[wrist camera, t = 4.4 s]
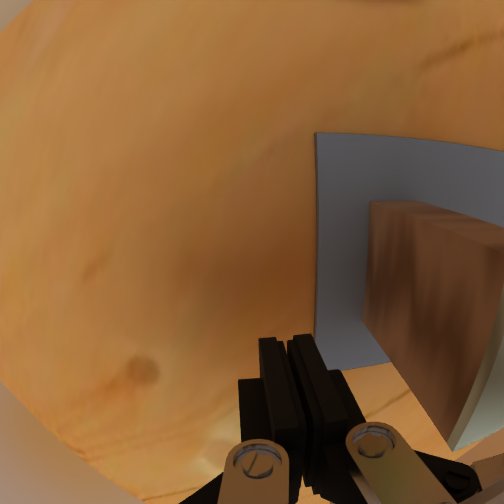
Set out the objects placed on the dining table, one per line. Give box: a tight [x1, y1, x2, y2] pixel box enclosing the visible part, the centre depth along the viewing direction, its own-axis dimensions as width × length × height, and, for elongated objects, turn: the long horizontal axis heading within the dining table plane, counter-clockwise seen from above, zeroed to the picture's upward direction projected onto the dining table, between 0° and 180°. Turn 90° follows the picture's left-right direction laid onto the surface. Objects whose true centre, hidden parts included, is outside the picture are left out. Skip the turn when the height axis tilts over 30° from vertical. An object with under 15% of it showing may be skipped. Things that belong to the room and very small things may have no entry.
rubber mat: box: [314, 133, 504, 371], centre depth 20 cm, size 16×20×1 cm
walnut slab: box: [362, 201, 504, 452], centre depth 13 cm, size 8×4×12 cm, turn 3°
